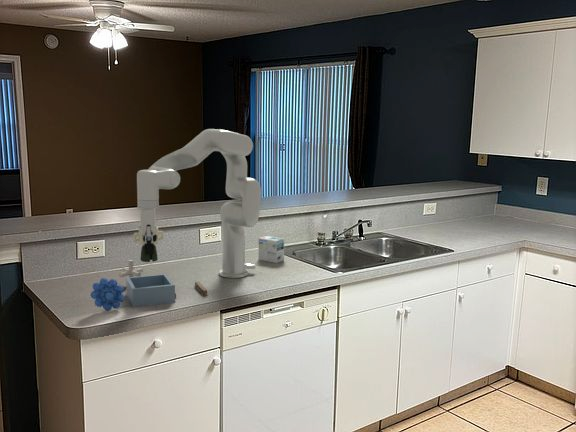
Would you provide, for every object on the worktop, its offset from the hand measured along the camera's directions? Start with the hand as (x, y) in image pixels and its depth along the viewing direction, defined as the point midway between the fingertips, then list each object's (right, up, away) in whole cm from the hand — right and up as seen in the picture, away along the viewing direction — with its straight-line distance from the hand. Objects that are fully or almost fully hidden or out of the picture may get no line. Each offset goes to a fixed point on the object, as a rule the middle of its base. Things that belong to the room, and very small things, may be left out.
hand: (149, 251), depth 212 cm
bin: (0, -18, +3) cm, 18 cm away
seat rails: (+12, -17, +11) cm, 23 cm away
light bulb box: (+43, -8, +60) cm, 74 cm away
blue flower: (-11, -21, -11) cm, 26 cm away
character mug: (0, -4, +1) cm, 4 cm away
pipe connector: (-12, -15, +19) cm, 27 cm away
